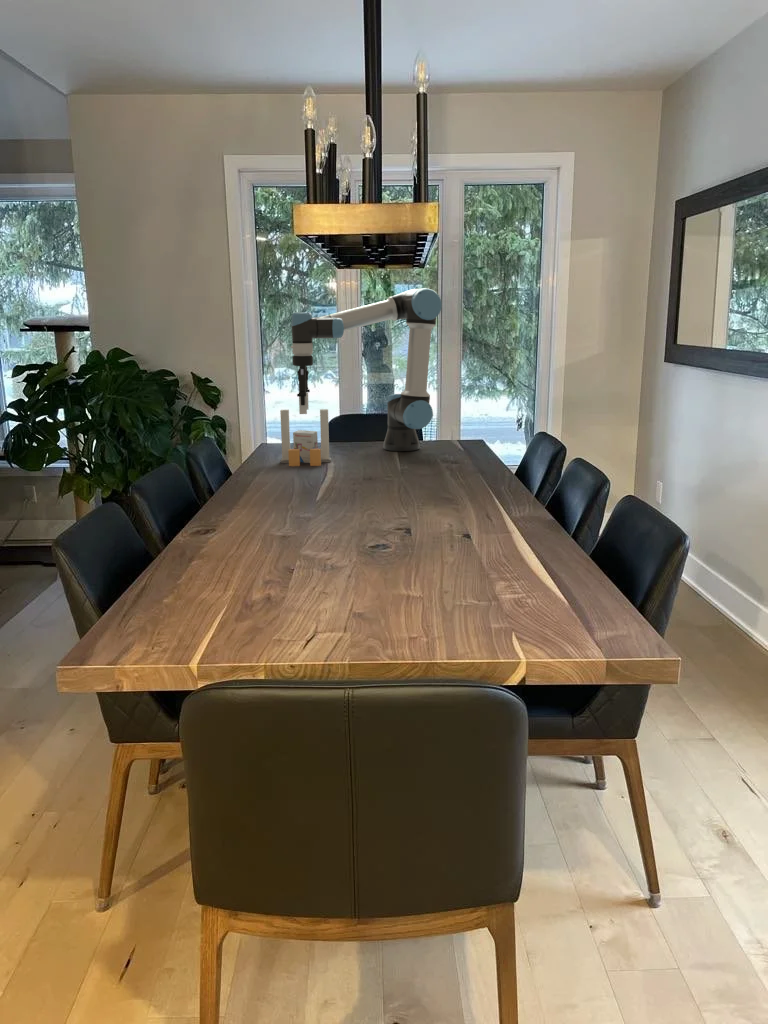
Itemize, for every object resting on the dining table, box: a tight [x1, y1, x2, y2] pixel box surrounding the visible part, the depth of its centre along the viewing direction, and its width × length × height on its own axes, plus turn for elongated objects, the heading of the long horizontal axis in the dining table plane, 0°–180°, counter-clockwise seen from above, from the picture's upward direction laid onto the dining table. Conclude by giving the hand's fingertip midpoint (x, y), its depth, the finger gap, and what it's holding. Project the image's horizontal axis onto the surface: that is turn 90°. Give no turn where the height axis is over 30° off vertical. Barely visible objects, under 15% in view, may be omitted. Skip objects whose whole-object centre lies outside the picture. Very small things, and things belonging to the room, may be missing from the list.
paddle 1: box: [288, 448, 301, 467], centre depth 289 cm, size 4×3×6 cm
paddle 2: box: [309, 448, 322, 467], centre depth 289 cm, size 4×3×6 cm
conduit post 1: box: [279, 409, 291, 464], centre depth 293 cm, size 4×4×20 cm
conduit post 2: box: [319, 408, 332, 463], centre depth 294 cm, size 4×4×20 cm
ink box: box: [292, 429, 319, 464], centre depth 295 cm, size 9×5×12 cm, turn 73°
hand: (304, 411), depth 291 cm, fingers open, 13 cm apart
